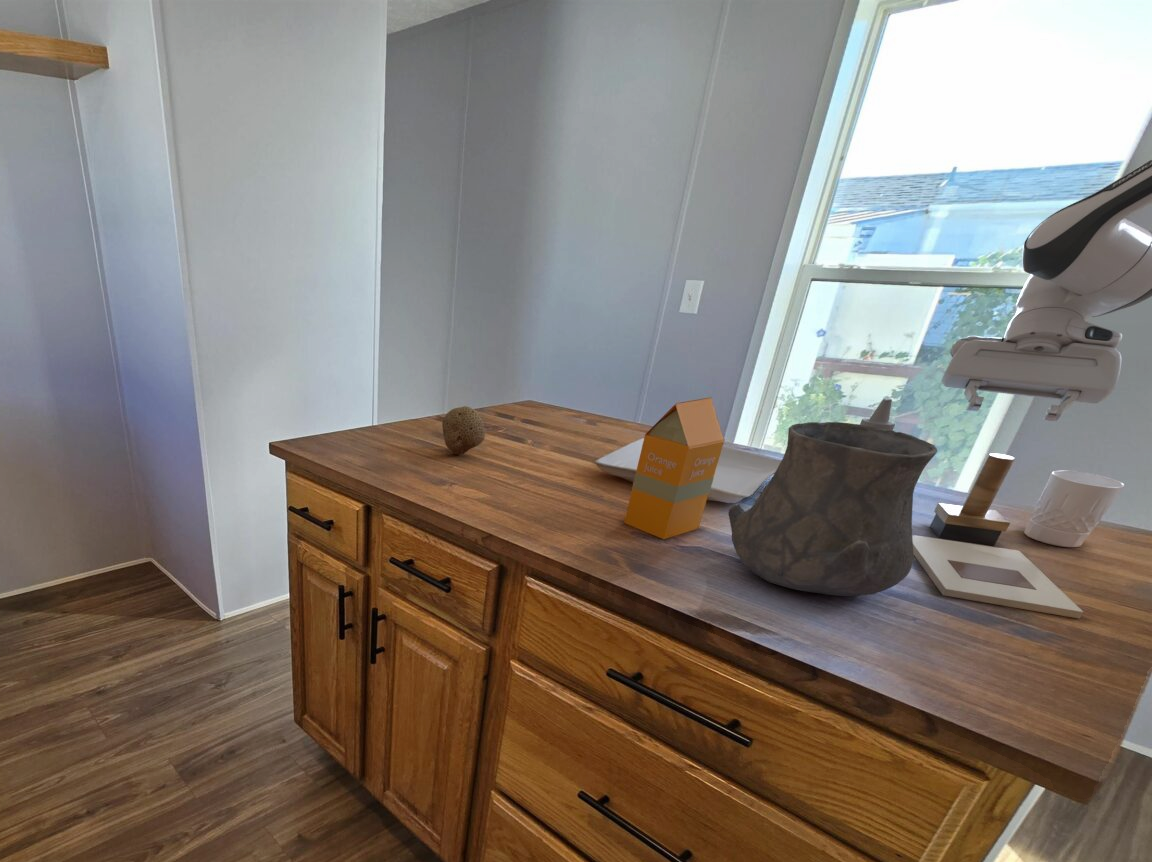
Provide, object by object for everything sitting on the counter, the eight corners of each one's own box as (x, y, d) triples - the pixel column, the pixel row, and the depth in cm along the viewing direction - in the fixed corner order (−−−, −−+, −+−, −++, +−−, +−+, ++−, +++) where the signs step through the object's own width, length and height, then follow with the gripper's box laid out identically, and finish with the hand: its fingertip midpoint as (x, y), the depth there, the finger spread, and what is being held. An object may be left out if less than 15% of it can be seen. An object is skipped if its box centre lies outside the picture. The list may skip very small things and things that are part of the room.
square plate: (646, 449, 144) (651, 431, 142) (785, 479, 127) (792, 459, 125) (589, 477, 127) (593, 457, 125) (740, 515, 110) (748, 494, 108)
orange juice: (699, 528, 105) (737, 402, 95) (664, 539, 101) (699, 408, 91) (657, 512, 111) (688, 392, 101) (622, 522, 107) (651, 397, 97)
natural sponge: (483, 450, 142) (488, 403, 137) (482, 462, 134) (488, 413, 129) (441, 447, 143) (445, 400, 138) (438, 459, 135) (442, 410, 130)
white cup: (1082, 553, 99) (1121, 491, 94) (1013, 536, 104) (1047, 476, 99) (1090, 540, 103) (1128, 480, 98) (1024, 525, 108) (1057, 466, 104)
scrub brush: (984, 533, 105) (1026, 454, 99) (997, 546, 101) (1042, 465, 94) (926, 525, 108) (964, 448, 101) (937, 538, 103) (977, 457, 97)
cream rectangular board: (1015, 556, 98) (1019, 550, 97) (1079, 618, 82) (1084, 611, 81) (902, 539, 103) (905, 533, 102) (942, 595, 87) (946, 588, 86)
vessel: (753, 531, 104) (797, 404, 95) (919, 585, 89) (992, 440, 79) (680, 566, 93) (721, 426, 83) (856, 635, 78) (932, 472, 68)
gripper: (963, 322, 109) (935, 391, 107) (1138, 334, 98) (1110, 412, 96) (950, 347, 114) (924, 414, 112) (1115, 362, 103) (1089, 436, 101)
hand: (1011, 413), depth 104 cm, fingers open, 8 cm apart
